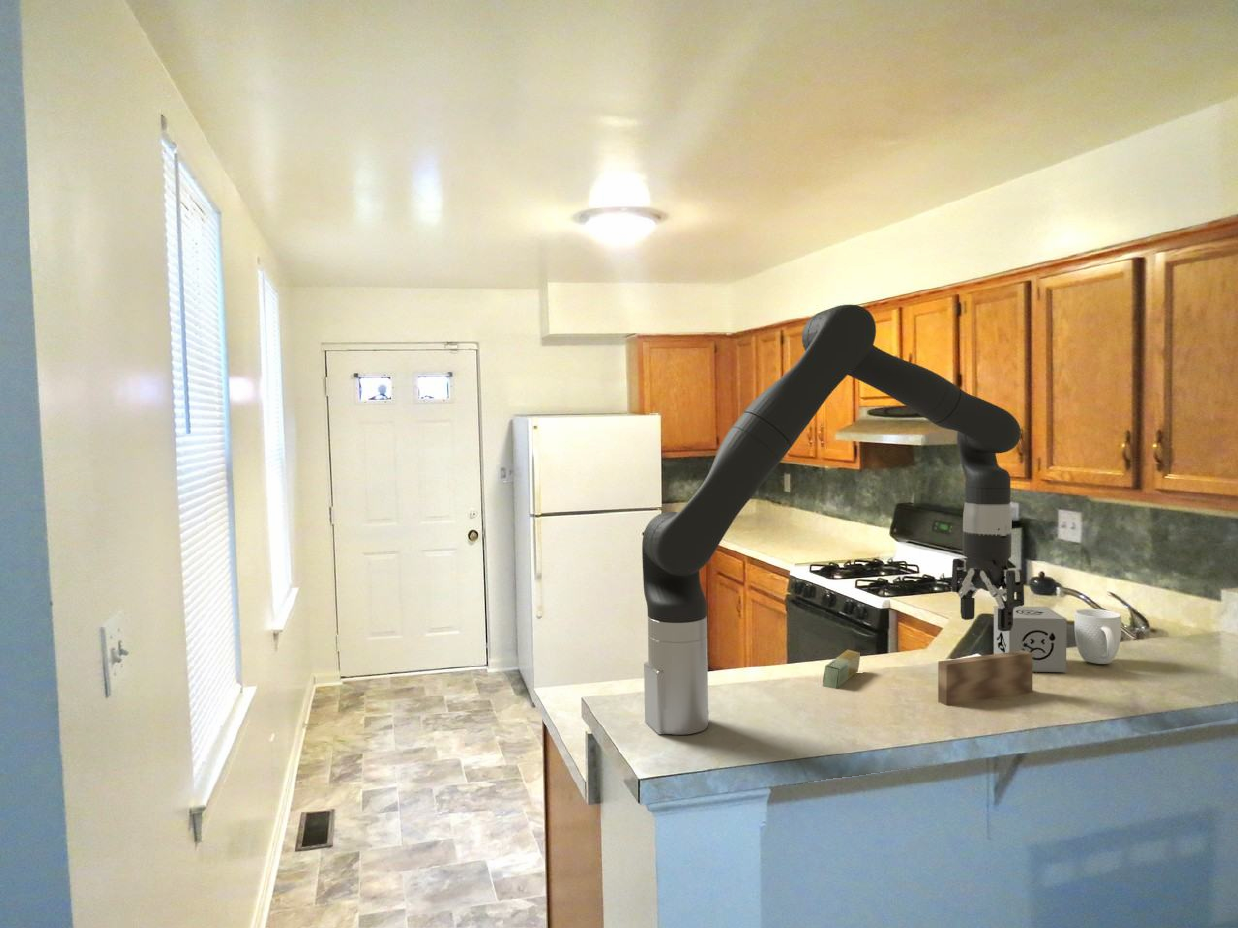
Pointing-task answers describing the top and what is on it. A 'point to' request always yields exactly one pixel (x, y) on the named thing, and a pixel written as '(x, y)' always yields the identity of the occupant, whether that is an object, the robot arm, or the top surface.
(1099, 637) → the mug
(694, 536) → the robot arm
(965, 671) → the walnut screen
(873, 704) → the top surface
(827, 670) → the medication box
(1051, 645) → the icon cube
